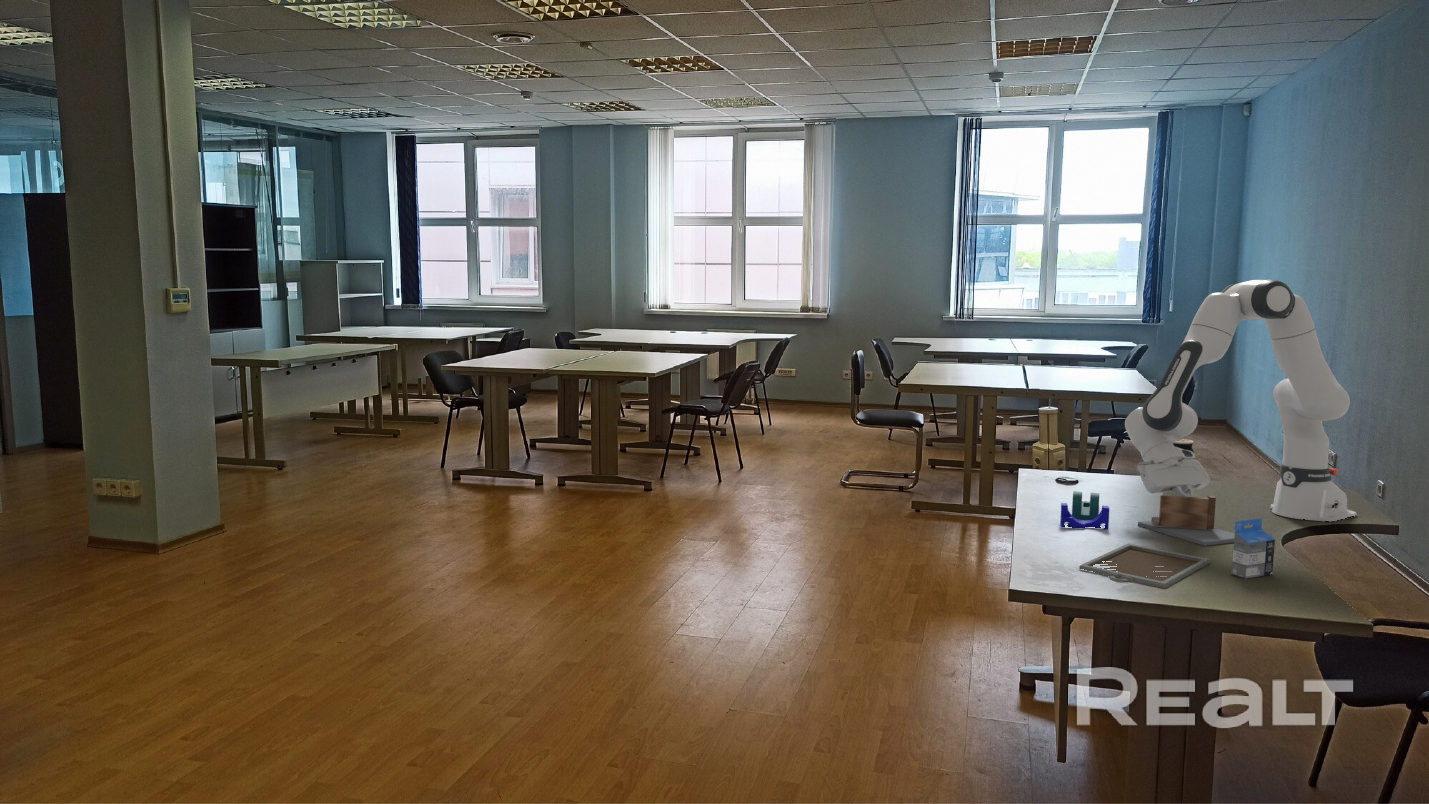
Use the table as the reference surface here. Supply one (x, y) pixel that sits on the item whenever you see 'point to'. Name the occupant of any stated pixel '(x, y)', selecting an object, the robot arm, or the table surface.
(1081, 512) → the bracket
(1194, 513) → the gate leaf
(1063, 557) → the table surface
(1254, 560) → the ink cartridge box
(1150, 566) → the picture frame
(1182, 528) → the grey plate
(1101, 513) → the cable clip
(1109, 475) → the table surface
